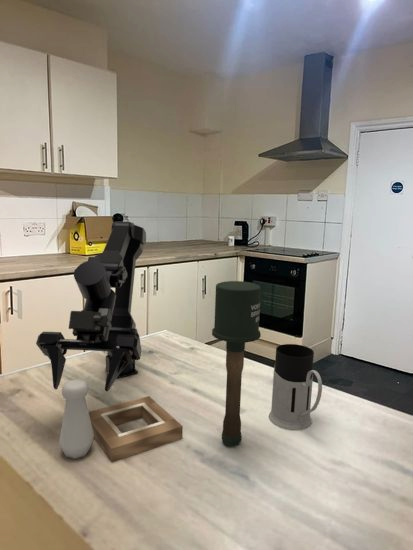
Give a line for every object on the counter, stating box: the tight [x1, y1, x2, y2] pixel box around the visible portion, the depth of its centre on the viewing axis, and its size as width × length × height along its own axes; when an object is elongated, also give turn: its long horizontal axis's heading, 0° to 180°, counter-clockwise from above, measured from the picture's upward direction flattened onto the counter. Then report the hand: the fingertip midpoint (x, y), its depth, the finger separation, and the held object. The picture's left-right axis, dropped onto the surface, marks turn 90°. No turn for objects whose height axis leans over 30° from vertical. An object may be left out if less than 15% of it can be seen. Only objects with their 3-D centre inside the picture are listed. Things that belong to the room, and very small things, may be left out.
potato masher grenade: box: [211, 280, 262, 448], centre depth 76 cm, size 8×9×30 cm
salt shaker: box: [58, 378, 95, 460], centre depth 73 cm, size 6×6×13 cm
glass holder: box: [268, 343, 323, 431], centre depth 84 cm, size 9×14×15 cm, turn 18°
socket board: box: [88, 395, 184, 463], centre depth 81 cm, size 14×14×3 cm
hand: (80, 389), depth 75 cm, fingers open, 9 cm apart
